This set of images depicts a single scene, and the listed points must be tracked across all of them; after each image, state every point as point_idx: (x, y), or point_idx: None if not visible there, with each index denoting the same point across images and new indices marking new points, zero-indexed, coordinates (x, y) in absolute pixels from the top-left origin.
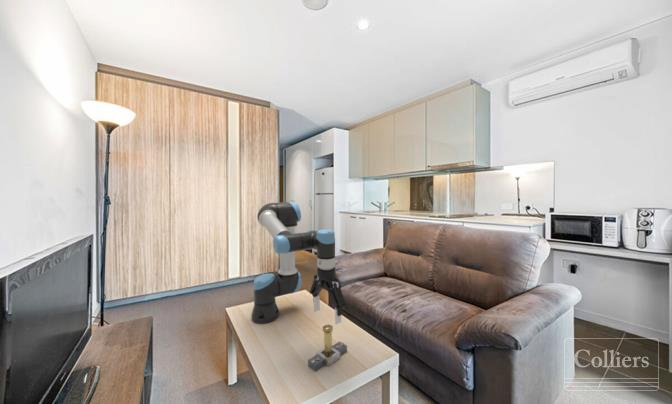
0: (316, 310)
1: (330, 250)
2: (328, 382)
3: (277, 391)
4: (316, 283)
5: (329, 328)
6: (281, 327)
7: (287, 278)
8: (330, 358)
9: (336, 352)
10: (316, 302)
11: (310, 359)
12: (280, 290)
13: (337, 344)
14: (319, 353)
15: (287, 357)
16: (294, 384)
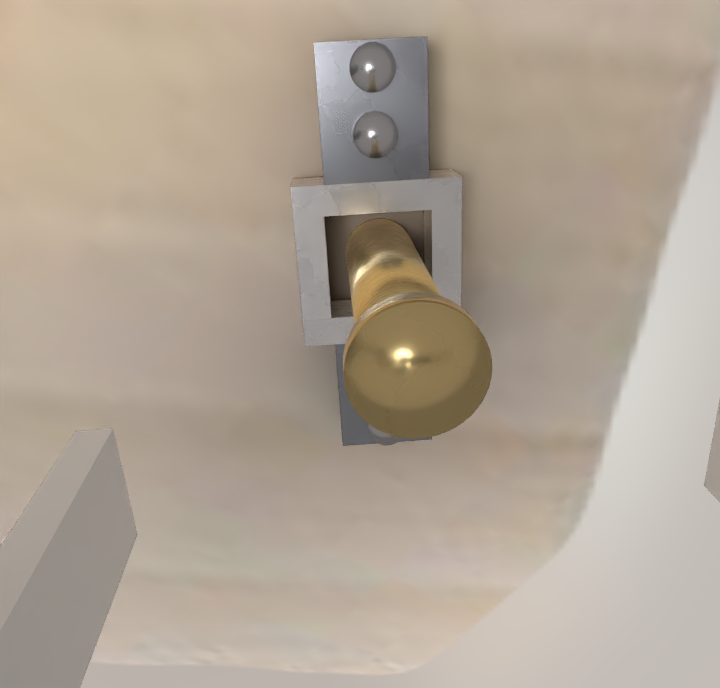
0: (125, 517)
1: None
2: (571, 398)
3: (400, 636)
4: None
5: (460, 374)
6: None
7: None
8: (458, 299)
9: (435, 204)
10: (66, 657)
11: (350, 428)
12: None
13: (341, 107)
14: (336, 332)
15: (148, 482)
16: (422, 554)
